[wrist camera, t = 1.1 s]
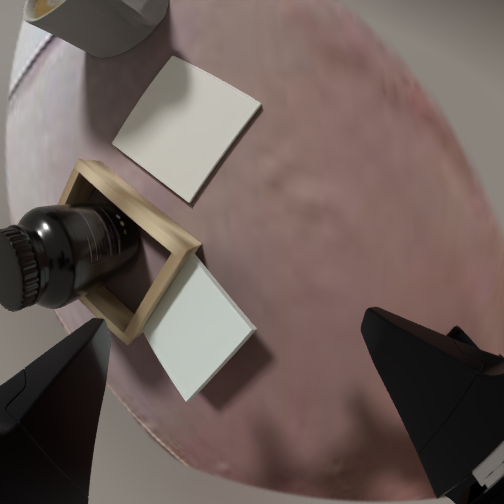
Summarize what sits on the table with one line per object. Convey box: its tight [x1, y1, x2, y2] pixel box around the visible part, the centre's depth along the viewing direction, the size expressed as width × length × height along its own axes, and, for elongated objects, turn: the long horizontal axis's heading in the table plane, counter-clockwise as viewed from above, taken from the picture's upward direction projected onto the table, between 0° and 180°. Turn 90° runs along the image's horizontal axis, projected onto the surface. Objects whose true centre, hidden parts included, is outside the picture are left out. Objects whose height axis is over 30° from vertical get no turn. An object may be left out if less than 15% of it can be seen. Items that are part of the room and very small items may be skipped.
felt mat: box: [112, 55, 262, 203], centre depth 20 cm, size 9×9×1 cm
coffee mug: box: [23, 0, 169, 58], centre depth 14 cm, size 13×10×10 cm
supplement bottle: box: [0, 202, 139, 312], centre depth 17 cm, size 7×7×12 cm
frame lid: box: [142, 253, 257, 402], centre depth 20 cm, size 7×8×4 cm
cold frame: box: [58, 159, 202, 346], centre depth 22 cm, size 12×10×3 cm
